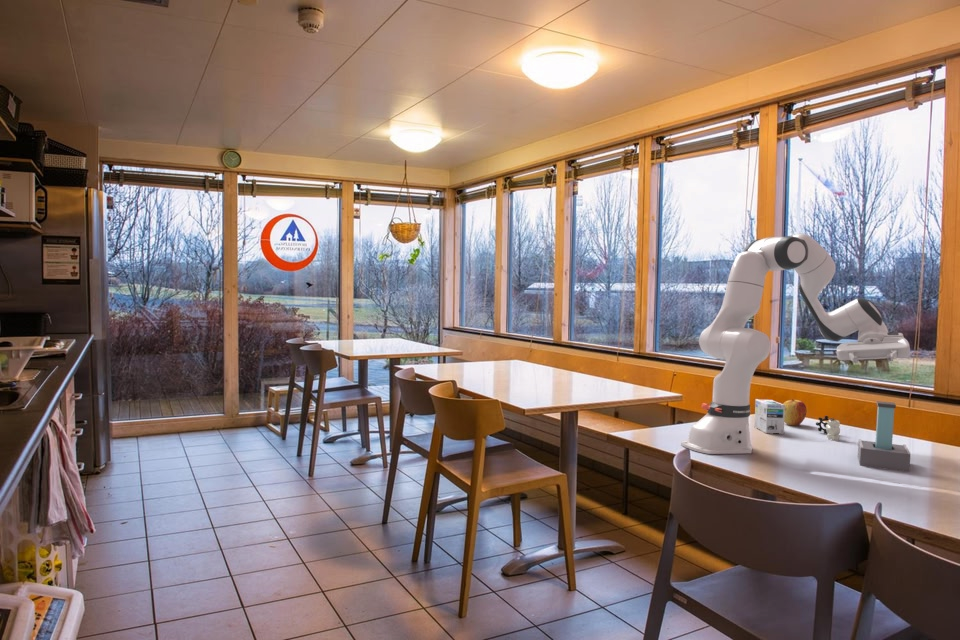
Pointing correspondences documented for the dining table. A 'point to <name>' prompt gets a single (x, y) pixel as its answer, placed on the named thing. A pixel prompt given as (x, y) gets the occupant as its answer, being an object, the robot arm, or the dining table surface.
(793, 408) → the apple
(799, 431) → the dining table surface
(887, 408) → the plug
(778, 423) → the light bulb box
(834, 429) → the valve
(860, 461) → the grey socket base
